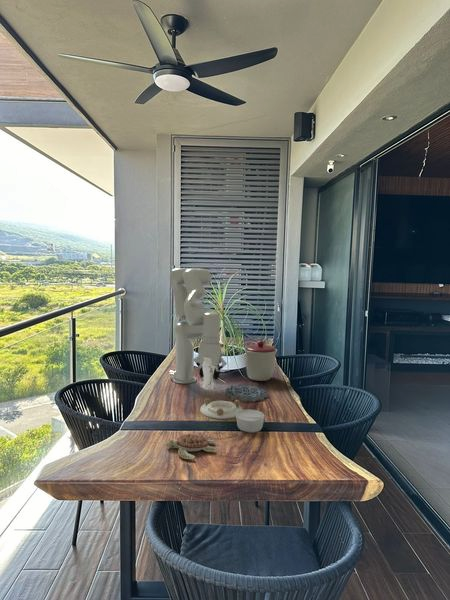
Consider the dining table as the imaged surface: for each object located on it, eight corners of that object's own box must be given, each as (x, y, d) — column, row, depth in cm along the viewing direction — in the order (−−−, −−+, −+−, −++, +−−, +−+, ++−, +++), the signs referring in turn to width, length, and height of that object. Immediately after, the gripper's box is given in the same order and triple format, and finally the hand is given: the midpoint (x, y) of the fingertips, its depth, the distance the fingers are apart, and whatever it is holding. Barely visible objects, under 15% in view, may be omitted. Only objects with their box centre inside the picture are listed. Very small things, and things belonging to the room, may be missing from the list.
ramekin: (244, 436, 144) (244, 422, 144) (230, 424, 154) (230, 411, 154) (270, 430, 149) (270, 417, 149) (254, 420, 159) (254, 407, 159)
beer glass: (219, 386, 182) (220, 355, 180) (212, 391, 176) (213, 358, 174) (205, 383, 185) (206, 352, 183) (198, 388, 179) (199, 356, 177)
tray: (193, 415, 163) (193, 406, 162) (209, 401, 180) (209, 392, 179) (234, 421, 157) (235, 412, 156) (247, 406, 174) (247, 398, 173)
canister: (281, 377, 220) (282, 340, 218) (266, 385, 205) (268, 345, 203) (252, 372, 230) (254, 336, 228) (237, 379, 214) (238, 341, 212)
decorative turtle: (168, 437, 142) (168, 424, 142) (214, 437, 143) (214, 424, 143) (164, 463, 124) (164, 447, 124) (216, 462, 125) (216, 447, 125)
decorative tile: (273, 393, 194) (273, 388, 194) (257, 405, 176) (257, 400, 176) (236, 386, 203) (236, 382, 203) (218, 397, 185) (218, 392, 185)
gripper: (189, 339, 177) (188, 377, 179) (226, 343, 171) (224, 383, 173) (196, 335, 184) (195, 372, 186) (231, 340, 178) (229, 378, 180)
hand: (209, 377), depth 180 cm, fingers closed on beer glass, 6 cm apart
